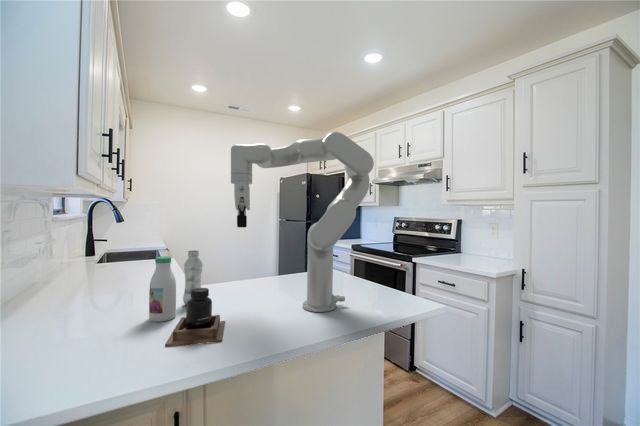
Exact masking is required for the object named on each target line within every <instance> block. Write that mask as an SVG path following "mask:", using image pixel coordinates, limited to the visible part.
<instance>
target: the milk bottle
mask: <svg viewBox="0 0 640 426" xmlns="http://www.w3.org/2000/svg"><path fill="white" fill-rule="evenodd" d="M154 260H155V270H154V272H153V274H152V276H151V278H150V282H149V292H148V293H149V298H148V300H149V301H148V308H149V309H148V319H149V321H150V322H153V323H162V322H166V321H171V320H172V319H174V318H176V315H177V281H176V277H175V275H174V272H173V271H172V267H171V264H172V257H171V256H164V255H163V256H158V257H155V259H154Z"/></svg>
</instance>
